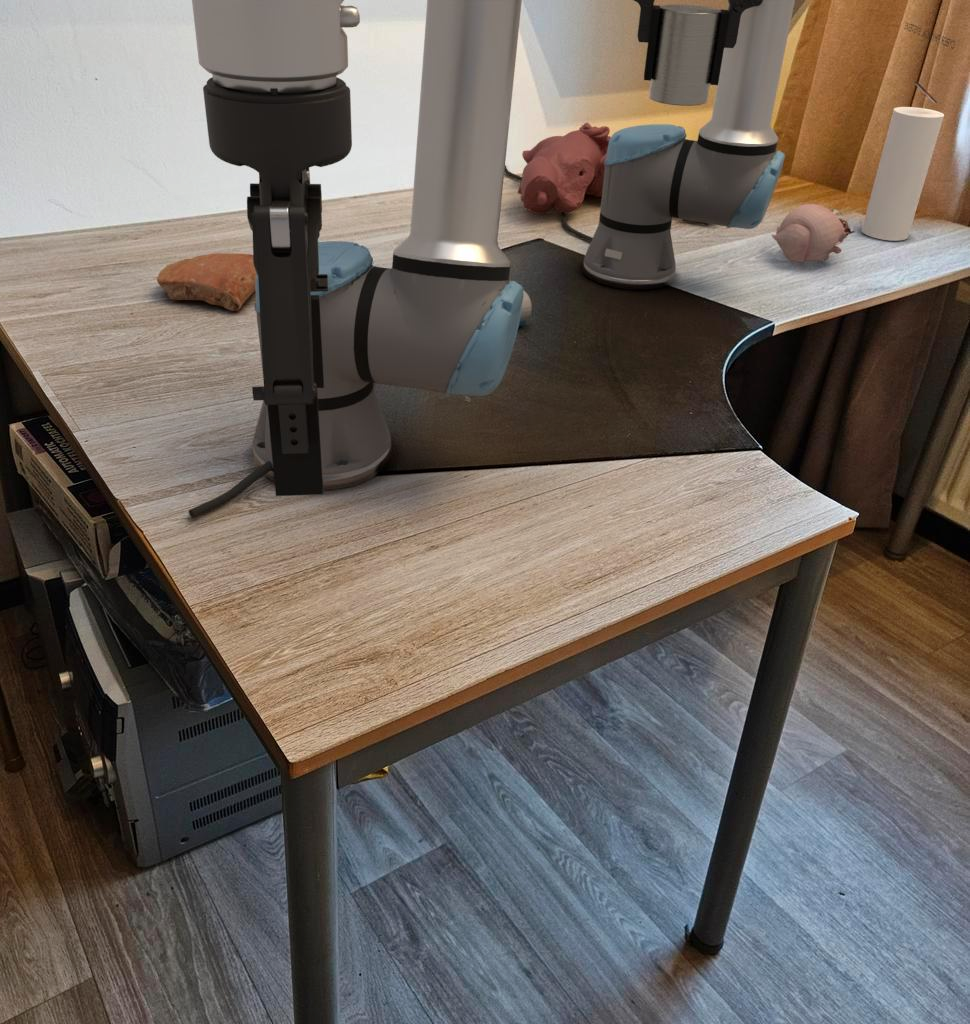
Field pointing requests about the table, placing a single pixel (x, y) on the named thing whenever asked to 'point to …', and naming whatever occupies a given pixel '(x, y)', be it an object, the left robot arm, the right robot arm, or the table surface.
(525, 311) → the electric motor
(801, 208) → the toy
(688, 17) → the tin
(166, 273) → the ceramic shard
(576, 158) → the pink toy pig
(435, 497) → the table surface
